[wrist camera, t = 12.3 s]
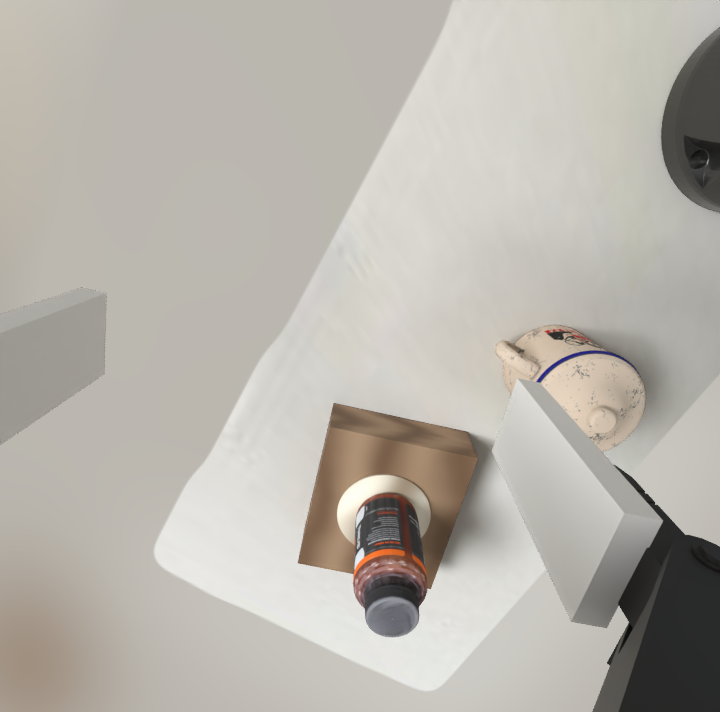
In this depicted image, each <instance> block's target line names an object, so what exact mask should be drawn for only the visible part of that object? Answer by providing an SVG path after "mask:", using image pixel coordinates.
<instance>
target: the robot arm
mask: <svg viewBox="0 0 720 712" xmlns="http://www.w3.org/2000/svg"><path fill="white" fill-rule="evenodd" d="M661 138H662V150H663V156H664V160H665V164H666V167H667V169H668V172H669V174H670V176H671V178H672V180H673V181H674V183H675V184H676V186H677V187H678V188H679V189H680V190H681V192H682V193H683V194H684V195H686V196H687V197H688V198H689V199H690V200H692V201H693V202H695V203H697V204H698V205H700V206H702V207H705V208H707V209H711V210H714V211H719V212H720V27H719V28H718V29H717V30H715V31H714V32H713V33H712V34H711V35H710V36H709V37H708V38H706V39H705V40H704V41H703V42H702V43H701V45H700V46H699V47H698V48H697V49H696V50H695V51H694V53H693V54H692V55H691V56H690V58H689V59H688V60H687V62H686V63H685V65H684V66H683V68H682V70H681V71H680V73H679V75H678V77H677V79H676V80H675V82H674V85H673V87H672V89H671V92H670V94H669V97H668V100H667V103H666V107H665V111H664V116H663V122H662V136H661ZM106 295H107V293H106V292H101V291H96V290H92V289H87V288H78V289H76V290H72V291H69V292H66V293H63V294H60V295H57V296H54V297H51V298H48V299H45V300H42V301H38V302H35V303H33V304H29V305H26V306H23V307H20V308H17V309H14V310H11V311H8V312H5V313H2V314H0V445H1V444H3V443H4V442H5V441H7V440H8V439H9V438H11V437H13V436H14V435H16V434H17V433H19V432H20V431H21V430H23V429H25V428H26V427H28V426H29V425H30V424H32V423H33V422H35V421H36V420H38V419H39V418H41V417H42V416H44V415H45V414H47V413H48V412H50V411H51V410H53V409H54V408H55V407H57V406H58V405H60V404H61V403H62V402H64V401H66V400H67V399H69V398H70V397H72V396H73V395H75V394H76V393H77V392H79V391H80V390H82V389H83V388H85V387H86V386H88V385H89V384H91V383H92V382H93V381H95V380H97V379H98V378H99V377H101V376H102V375H104V371H105V335H106V298H107V296H106ZM492 454H493V456H494V458H495V460H496V462H497V464H498V466H499V468H500V471H501V473H502V475H503V477H504V479H505V481H506V483H507V486H508V488H509V490H510V492H511V494H512V496H513V498H514V501H515V503H516V505H517V507H518V509H519V511H520V513H521V515H522V518H523V520H524V522H525V524H526V526H527V528H528V530H529V533H530V535H531V537H532V539H533V541H534V543H535V545H536V548H537V550H538V552H539V554H540V556H541V558H542V560H543V562H544V565H545V567H546V569H547V571H548V573H549V575H550V577H551V580H552V582H553V584H554V586H555V588H556V590H557V592H558V595H559V597H560V599H561V601H562V603H563V605H564V607H565V609H566V612H567V614H568V616H569V618H570V620H571V622H576V623H581V624H587V625H592V626H598V627H604V628H607V627H608V625H609V622H610V621H611V619H612V617H613V615H614V613H615V611H616V609H617V607H618V606H620V608H621V609H622V611H623V613H624V614H625V616H626V618H627V619H628V621H629V624H628V626H627V627H626V629H625V631H624V633H623V635H622V637H621V638H620V640H619V642H618V644H617V646H616V647H615V649H614V651H613V653H612V655H611V657H610V658H609V660H608V662H607V664H609V665H610V668H609V670H608V673H607V676H606V678H605V681H604V684H603V686H602V688H601V691H600V694H599V696H598V699H597V701H596V704H595V707H594V709H593V712H720V547H719V546H717V545H716V544H713V543H711V542H709V541H706V540H704V539H702V538H698V537H694V536H690V535H685V534H684V533H683V532H682V531H681V530H680V529H679V528H678V527H677V526H676V525H675V523H674V522H673V521H672V520H671V519H670V518H669V517H668V516H667V515H666V514H665V513H664V512H663V510H662V509H661V508H660V507H659V506H658V505H655V502H654V501H653V500H652V499H651V497H650V496H649V495H648V494H645V491H644V490H643V489H642V488H641V486H640V485H639V484H638V483H637V482H636V481H635V480H634V479H633V478H632V477H631V476H629V475H628V474H627V473H625V472H624V471H622V470H621V469H620V468H618V467H617V466H615V465H613V464H612V463H611V462H610V461H609V459H608V458H607V457H606V456H605V455H604V454H603V453H602V452H601V450H600V449H599V448H598V447H597V446H596V445H595V444H594V443H593V441H592V440H591V439H590V438H589V437H588V436H587V435H586V434H585V433H584V431H583V430H582V429H581V428H580V427H579V426H578V425H577V424H576V422H575V421H574V420H573V419H572V418H571V417H570V416H569V415H568V413H567V412H566V411H565V410H564V409H563V408H562V407H561V406H560V405H559V403H558V402H557V401H556V400H555V399H554V398H553V397H552V396H551V394H550V393H549V392H548V391H547V390H546V389H545V388H544V387H543V385H542V384H541V383H538V382H534V381H529V380H524V379H519V378H517V380H516V383H515V386H514V389H513V392H512V395H511V397H510V400H509V403H508V406H507V409H506V412H505V414H504V417H503V420H502V423H501V426H500V429H499V431H498V434H497V437H496V440H495V443H494V446H493V448H492Z"/></svg>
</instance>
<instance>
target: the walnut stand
mask: <svg viewBox="0 0 720 712" xmlns="http://www.w3.org/2000/svg"><path fill="white" fill-rule="evenodd" d="M477 461H478V457H477V454H476V452H475V449H474V447H473V445H472V442H471V440H470V437H469V435H468V432H465V431H460V430H456V429H451V428H446V427H442V426H437V425H432V424H428V423H423V422H419V421H414V420H409V419H405V418H400V417H395V416H391V415H386V414H381V413H377V412H372V411H368V410H363V409H358V408H354V407H349V406H344V405H340V404H335V403H334V404H333V408H332V413H331V417H330V421H329V426H328V430H327V434H326V439H325V443H324V447H323V452H322V456H321V460H320V464H319V469H318V473H317V477H316V482H315V486H314V490H313V495H312V499H311V503H310V508H309V512H308V516H307V521H306V525H305V529H304V534H303V540H302V545H301V550H300V555H299V560H298V563H300V564H305V565H310V566H315V567H320V568H325V569H331V570H336V571H341V572H346V573H351V574H354V552H355V523H356V515H357V511H358V509H359V507H360V506H361V505H362V503H363V502H364V501H365V500H367V499H368V498H370V497H372V496H374V495H377V494H383V493H391V494H396V495H399V496H402V497H403V498H405V499H407V500H408V501H409V502H410V503H411V504H412V505H413V506H414V508H415V510H416V513H417V517H418V522H419V528H420V535H421V541H422V547H423V554H424V561H425V568H426V574H427V588H428V589H431V587H432V584H433V581H434V579H435V576H436V573H437V570H438V568H439V565H440V562H441V559H442V557H443V554H444V551H445V548H446V546H447V543H448V540H449V537H450V535H451V532H452V529H453V526H454V524H455V521H456V518H457V515H458V513H459V510H460V507H461V504H462V502H463V499H464V496H465V493H466V491H467V488H468V485H469V482H470V480H471V477H472V474H473V471H474V469H475V466H476V463H477Z"/></svg>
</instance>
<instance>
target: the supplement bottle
mask: <svg viewBox="0 0 720 712" xmlns="http://www.w3.org/2000/svg"><path fill="white" fill-rule="evenodd" d="M353 585H354V593H355V596H356V598H357V600H358V602H359V603H360V605H361V606H363V607H364V608H365V618H366V622H367V624H368V626H369V628H370V629H371V630H372V631H374V632H375V633H377V634H379V635H381V636H385V637H399V636H402V635H405V634H408V633H409V632H411V631H412V630H413V629H414V628H415V627H416V625H417V623H418V621H419V606H420V605H421V603H422V602H423V601H424V599H425V596H426V593H427V574H426V568H425V561H424V554H423V547H422V541H421V535H420V528H419V522H418V517H417V513H416V510H415V508H414V506H413V505H412V504H411V503H410V502H409V501H408V500H407V499H405V498H403V497H402V496H399V495H396V494H391V493H383V494H377V495H374V496H372V497H370V498H368V499H367V500H365V501H364V502H363V503H362V505H361V506H360V507H359V509H358V511H357V515H356V523H355V552H354V581H353Z"/></svg>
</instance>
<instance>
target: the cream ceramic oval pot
mask: <svg viewBox="0 0 720 712" xmlns="http://www.w3.org/2000/svg"><path fill="white" fill-rule="evenodd" d="M494 350H495V353H496V355H497V356H498V357H499V358H500V359H501V360H502V361H503V362H505V364H504V380H505V384H506V387H507V389H508V391H509V392H510V394H511V395H512V392H513V389H514V386H515V383H516V380H517V378H519V379H524V380H529V381H534V382H538V383H541V384H542V385H543V387H544V388H545V389H546V390H547V391H548V392H549V393H550V394H551V396H552V397H553V398H554V399H555V400H556V401H557V402H558V403H559V405H560V406H561V407H562V408H563V409H564V410H565V411H566V412H567V413H568V415H569V416H570V417H571V418H572V419H573V420H574V421H575V422H576V424H577V425H578V426H579V427H580V428H581V429H582V430H583V431H584V433H585V434H586V435H587V436H588V437H589V438H590V439H591V440H592V441H593V443H594V444H595V445H596V446H597V447H598V448H599V449H600V450H601V452H604V451H607V450H609V449H611V448H613V447H615V446H617V445H618V444H620V443H621V442H622V441H624V440H625V439H626V438H627V437H628V436H629V435H630V434H631V433H632V432H633V431H634V429H635V428H636V427H637V425H638V424H639V422H640V420H641V418H642V415H643V412H644V408H645V401H646V393H645V388H644V384H643V381H642V379H641V377H640V375H639V373H638V371H637V370H636V369H635V368H634V366H633V365H632V364H631V363H629V362H628V361H627V360H625V359H624V358H622V357H620V356H619V355H616V354H614V353H610V352H608V351H606V350H605V349H603V348H602V347H600V346H599V345H597V344H596V343H594V342H593V341H591V340H590V339H588V338H587V337H585V336H584V335H582V334H580V333H579V332H577V331H576V330H574V329H571V328H568V327H565V326H557V325H552V326H545V327H540V328H537V329H535V330H532V331H530V332H529V333H527V334H525V335H524V336H523V337H521V338H520V339H519V340H518V341H517V342H516V343H515V344H512V343H510V342H508V341H504V340H502V341H499V342H498V344H497V345H496V347H495V349H494Z"/></svg>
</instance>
